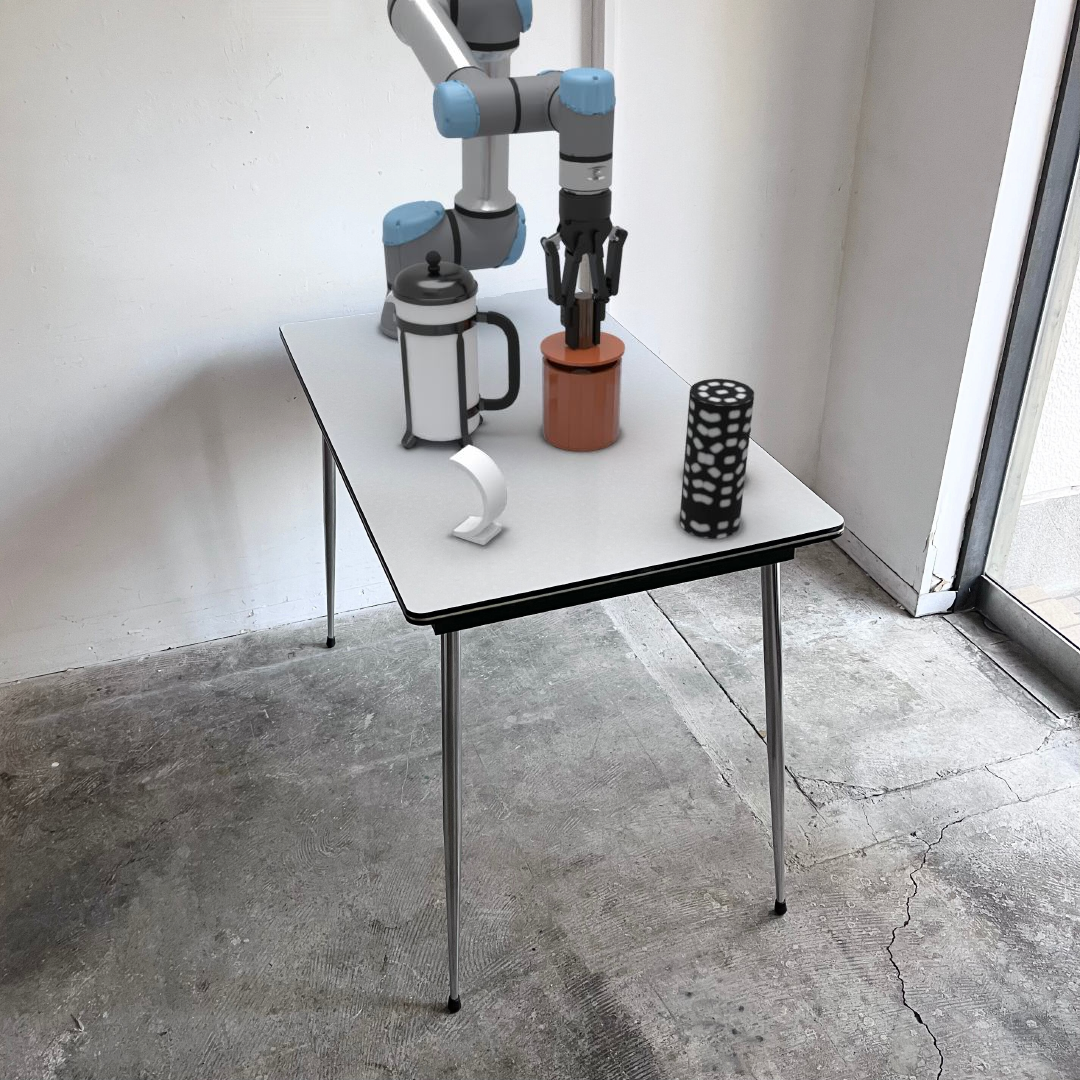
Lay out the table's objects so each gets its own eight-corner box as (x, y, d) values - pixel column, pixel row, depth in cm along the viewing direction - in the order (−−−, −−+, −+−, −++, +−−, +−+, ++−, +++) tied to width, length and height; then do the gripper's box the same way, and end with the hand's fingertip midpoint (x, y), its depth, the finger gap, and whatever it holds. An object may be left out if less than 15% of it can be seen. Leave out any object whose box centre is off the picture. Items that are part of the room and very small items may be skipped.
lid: (526, 345, 170) (526, 288, 165) (600, 331, 175) (601, 275, 170) (563, 376, 160) (563, 316, 155) (640, 361, 165) (643, 302, 160)
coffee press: (427, 468, 165) (415, 277, 149) (380, 428, 177) (364, 246, 160) (523, 439, 173) (521, 254, 157) (472, 403, 185) (465, 226, 168)
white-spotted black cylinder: (693, 542, 148) (705, 409, 137) (670, 512, 154) (680, 383, 144) (749, 533, 150) (765, 401, 139) (724, 503, 156) (737, 375, 146)
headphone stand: (471, 520, 153) (468, 444, 146) (508, 532, 150) (506, 455, 144) (453, 535, 150) (449, 458, 143) (490, 547, 147) (487, 469, 140)
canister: (530, 425, 178) (529, 351, 171) (596, 411, 182) (598, 338, 175) (563, 457, 168) (564, 380, 161) (632, 441, 173) (636, 366, 166)
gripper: (544, 201, 148) (544, 361, 161) (648, 187, 154) (640, 343, 167) (522, 188, 154) (524, 343, 167) (623, 175, 160) (617, 326, 172)
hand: (582, 343), depth 167 cm, fingers closed on lid, 3 cm apart
